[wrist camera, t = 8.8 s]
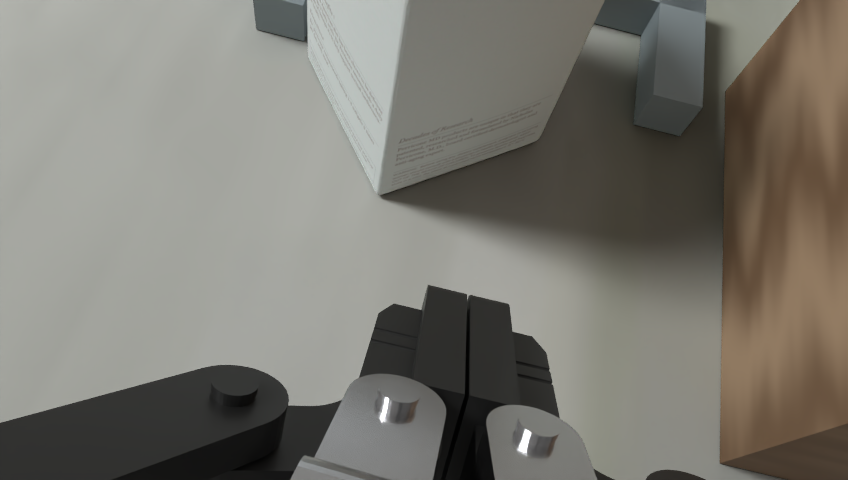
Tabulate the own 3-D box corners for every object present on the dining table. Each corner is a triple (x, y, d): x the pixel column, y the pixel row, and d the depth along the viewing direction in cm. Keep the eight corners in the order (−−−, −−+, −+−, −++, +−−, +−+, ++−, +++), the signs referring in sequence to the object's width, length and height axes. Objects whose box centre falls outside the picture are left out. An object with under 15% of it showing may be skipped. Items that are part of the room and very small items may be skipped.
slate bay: (679, 136, 30) (702, 107, 28) (256, 29, 29) (252, -8, 27) (685, 13, 33) (706, -20, 31) (304, -84, 32) (303, -124, 31)
